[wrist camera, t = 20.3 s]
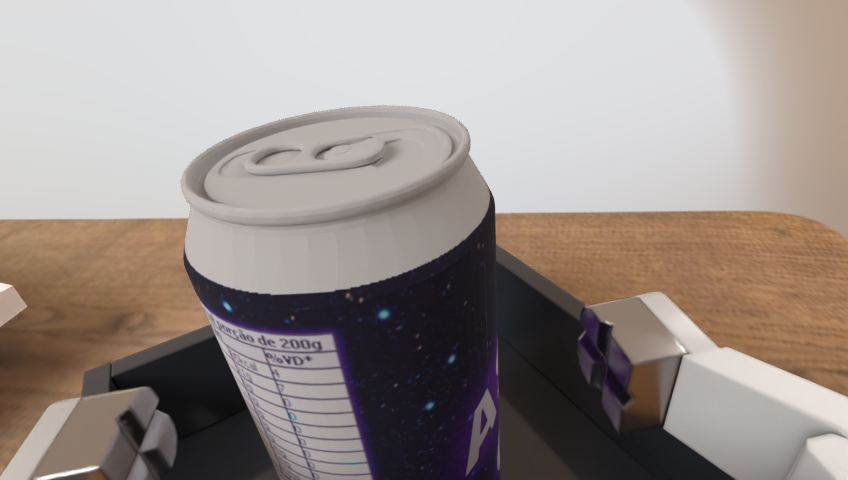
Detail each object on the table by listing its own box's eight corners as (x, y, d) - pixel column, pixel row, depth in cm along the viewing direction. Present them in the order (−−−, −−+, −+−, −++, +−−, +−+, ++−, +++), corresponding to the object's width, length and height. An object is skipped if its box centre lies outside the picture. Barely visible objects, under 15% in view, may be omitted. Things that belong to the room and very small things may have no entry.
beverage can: (514, 627, 12) (518, 207, 5) (295, 629, 12) (62, 241, 6) (490, 430, 16) (479, 89, 10) (335, 437, 17) (233, 112, 11)
